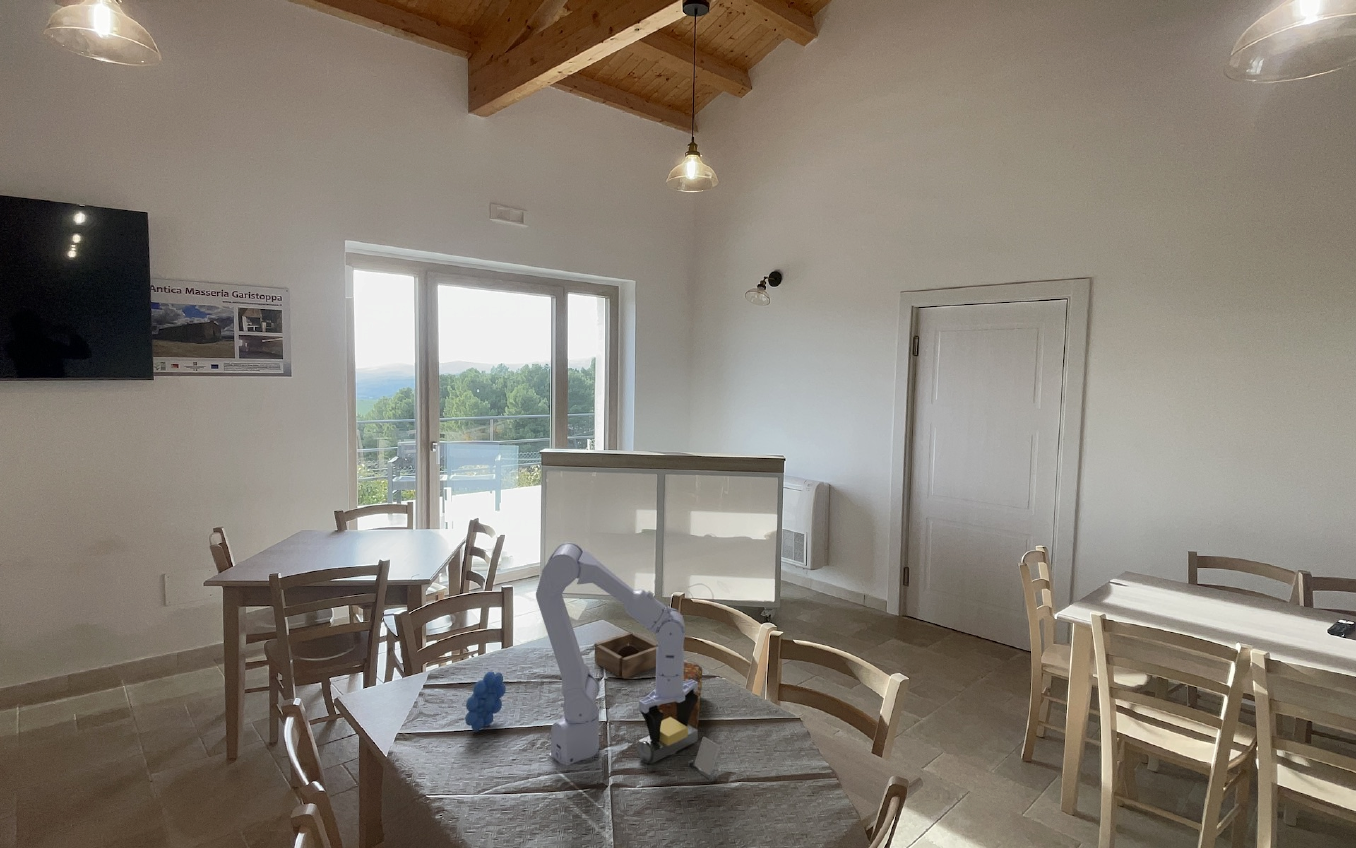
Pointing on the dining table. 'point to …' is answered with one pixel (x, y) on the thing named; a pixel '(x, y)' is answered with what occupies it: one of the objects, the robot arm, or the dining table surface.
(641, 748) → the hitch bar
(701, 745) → the plate
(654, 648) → the open wooden box
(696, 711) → the bread
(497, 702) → the grapes
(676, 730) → the pale yellow block
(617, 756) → the dining table surface
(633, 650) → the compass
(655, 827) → the dining table surface
